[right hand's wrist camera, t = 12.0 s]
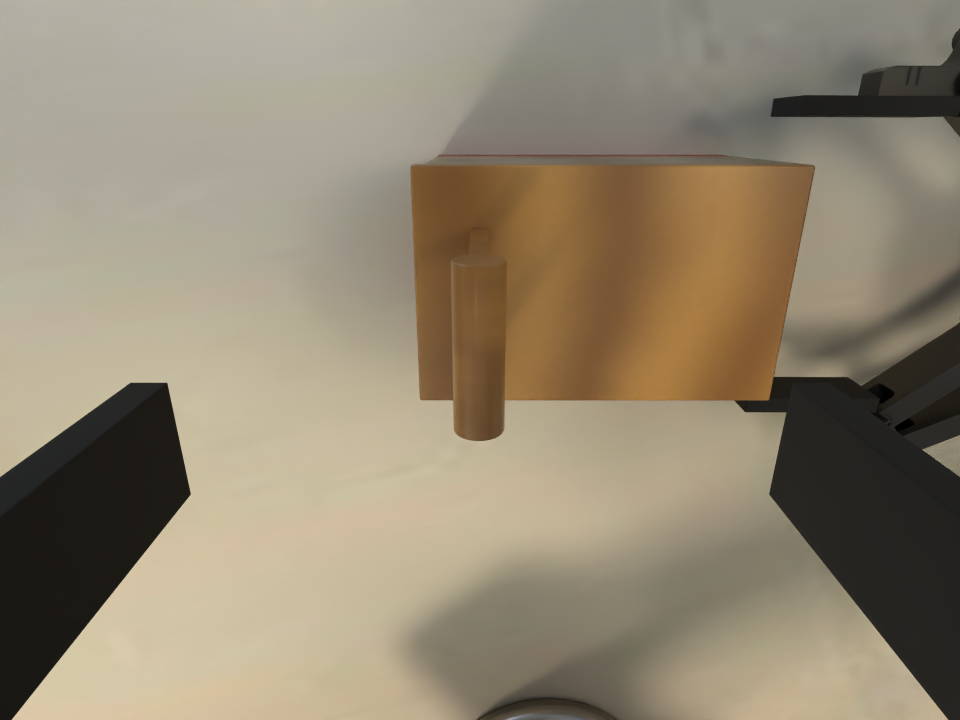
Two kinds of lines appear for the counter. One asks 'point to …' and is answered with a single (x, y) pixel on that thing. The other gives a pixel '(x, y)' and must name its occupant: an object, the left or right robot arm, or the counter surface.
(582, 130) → the counter surface
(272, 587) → the counter surface
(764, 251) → the lid
